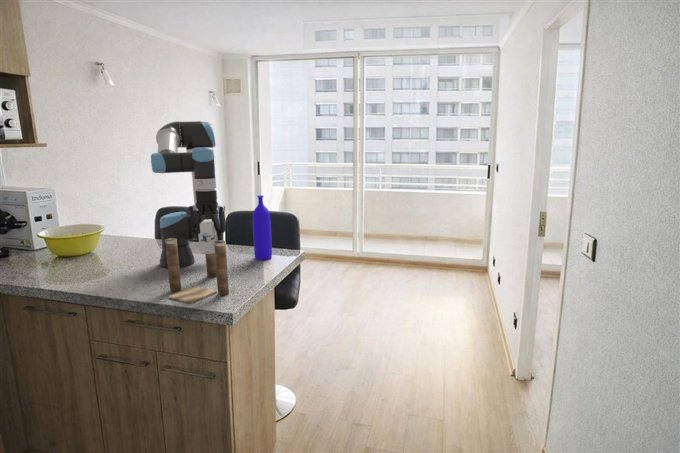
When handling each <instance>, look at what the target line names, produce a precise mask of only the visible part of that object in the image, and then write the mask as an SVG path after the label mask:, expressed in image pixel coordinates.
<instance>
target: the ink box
mask: <svg viewBox="0 0 680 453" xmlns="http://www.w3.org/2000/svg"><path fill="white" fill-rule="evenodd" d="M215 234H216V230H215V227H214V222H212V219H207V220H204V221H202V222H201V223H200V236H201V250H202V251H201V255H205V254H214V253H215V247H214V242H215Z"/></svg>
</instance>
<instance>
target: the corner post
mask: <svg viewBox="0 0 680 453" xmlns="http://www.w3.org/2000/svg"><path fill="white" fill-rule="evenodd" d="M214 247H215V261H216V275H217V277H216V287H217V288H216V289H217V295H218V296H219V295H220V297H226V296H228V295H229V294H230V287H229V286H230V285H229V274H228V260H227V259H228V256H227V242H226V240H225V239H224V240H223V239H222V240H219V241H215V242H214ZM225 295H226V296H225Z"/></svg>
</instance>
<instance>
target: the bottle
mask: <svg viewBox="0 0 680 453" xmlns="http://www.w3.org/2000/svg"><path fill="white" fill-rule="evenodd" d="M264 196H265V195H261V194H259V195H257V196H256V197H257V198H258V199H257V200H258V204H257V205H256V207H255V208H254V210H253V211H252V233H253V235H252V236H253V250H254V251H253V252H254V258H255V260H256V261H268V259H269V260H271V259H272V256H273V247H272V245H273V244H272V227H271V226H272V224H271V222H272V221H271V214H270V213H271V212H270V211H269V209H268V208H267V207H266V206H265V205H264V201H263V200H264Z"/></svg>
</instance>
